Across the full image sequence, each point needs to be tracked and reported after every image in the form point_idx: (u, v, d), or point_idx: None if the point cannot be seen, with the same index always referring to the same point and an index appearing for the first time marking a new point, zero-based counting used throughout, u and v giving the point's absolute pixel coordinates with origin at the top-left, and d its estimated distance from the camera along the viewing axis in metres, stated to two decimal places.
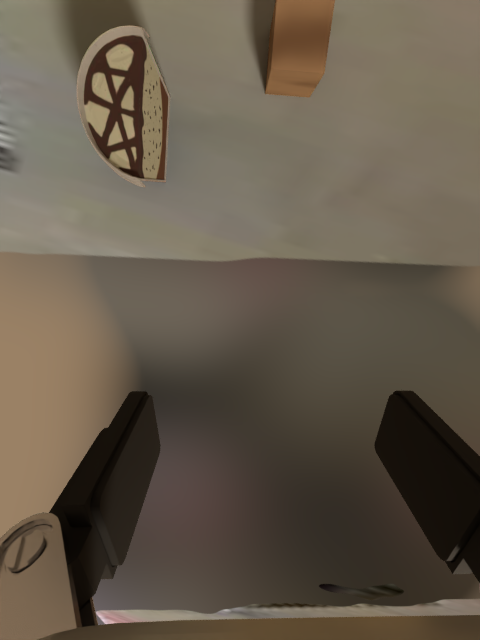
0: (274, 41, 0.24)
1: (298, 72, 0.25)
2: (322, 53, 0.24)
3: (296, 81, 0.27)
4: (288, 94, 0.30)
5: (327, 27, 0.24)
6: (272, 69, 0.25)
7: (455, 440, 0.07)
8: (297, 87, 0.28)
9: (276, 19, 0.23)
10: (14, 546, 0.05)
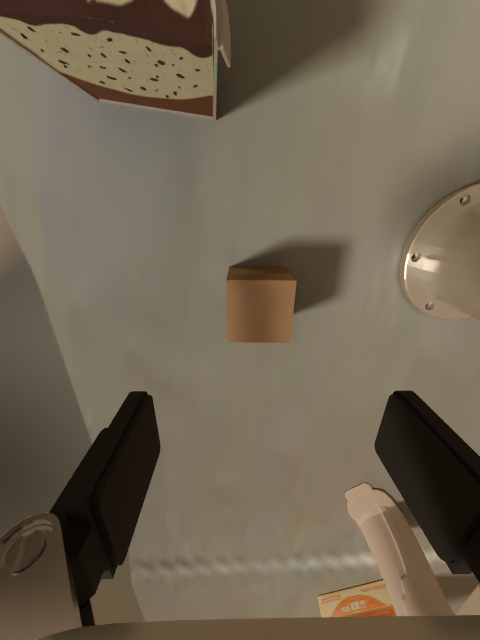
0: (252, 281, 0.19)
1: (227, 313, 0.20)
2: (244, 337, 0.21)
3: None
4: None
5: (266, 338, 0.21)
6: None
7: (455, 440, 0.07)
8: None
9: (272, 282, 0.19)
10: (14, 546, 0.05)
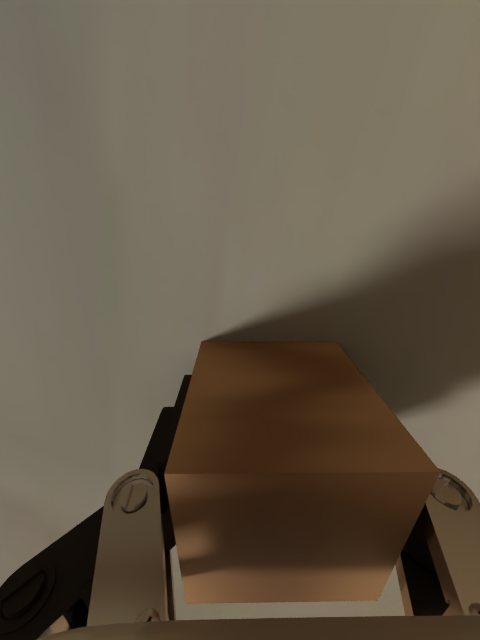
0: (268, 476, 0.05)
1: (179, 544, 0.06)
2: (238, 594, 0.07)
3: None
4: None
5: (305, 596, 0.07)
6: (166, 475, 0.05)
7: None
8: None
9: (345, 476, 0.05)
10: (124, 493, 0.06)
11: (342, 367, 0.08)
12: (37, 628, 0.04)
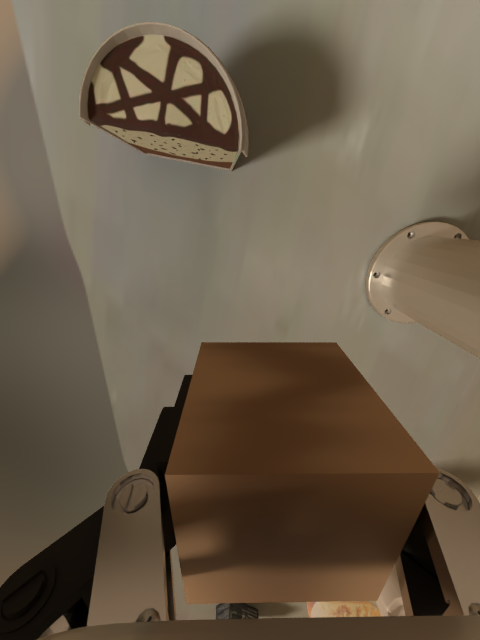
0: (268, 477, 0.05)
1: (179, 544, 0.06)
2: (239, 594, 0.07)
3: None
4: None
5: (305, 596, 0.07)
6: (166, 476, 0.05)
7: None
8: None
9: (345, 477, 0.05)
10: (124, 493, 0.06)
11: (342, 368, 0.08)
12: (37, 628, 0.04)
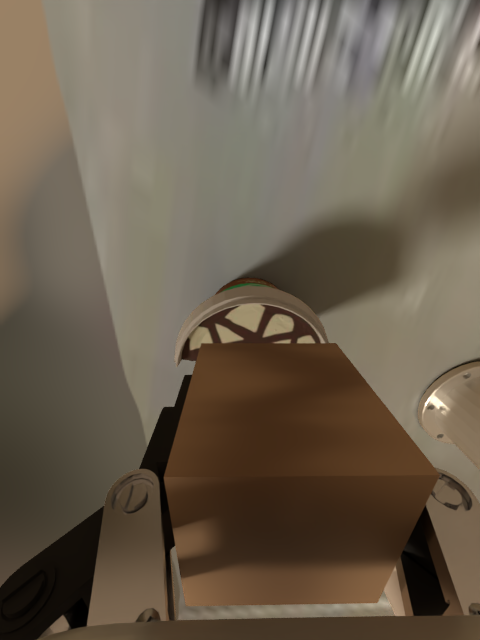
0: (268, 479, 0.05)
1: (179, 547, 0.06)
2: (238, 597, 0.07)
3: None
4: None
5: (305, 598, 0.07)
6: (165, 478, 0.05)
7: None
8: None
9: (345, 479, 0.05)
10: (124, 493, 0.06)
11: (342, 369, 0.08)
12: (37, 628, 0.04)
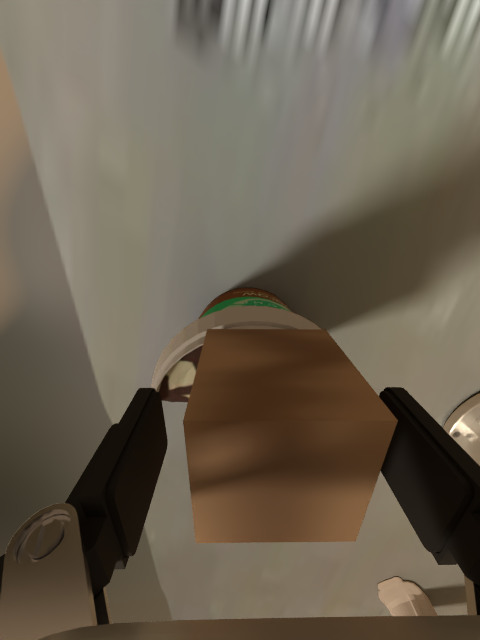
0: (264, 423, 0.06)
1: (191, 487, 0.07)
2: (240, 534, 0.08)
3: None
4: None
5: (295, 536, 0.08)
6: (184, 422, 0.06)
7: (441, 434, 0.07)
8: None
9: (324, 424, 0.06)
10: (33, 535, 0.05)
11: (329, 349, 0.10)
12: None
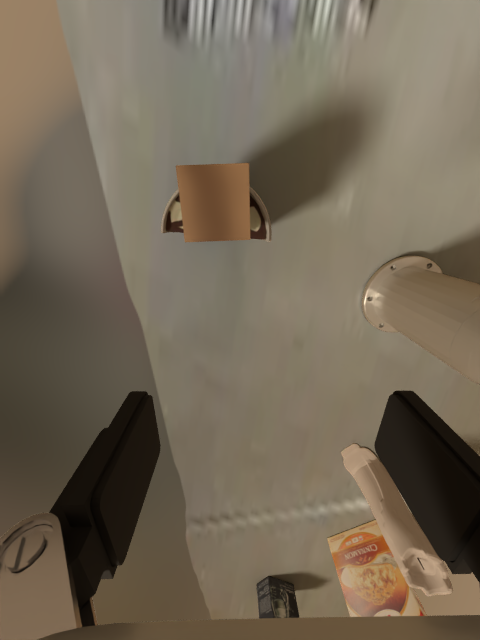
0: (203, 166, 0.18)
1: (181, 207, 0.19)
2: (202, 235, 0.20)
3: None
4: None
5: (225, 236, 0.20)
6: (176, 168, 0.18)
7: (455, 440, 0.07)
8: None
9: (224, 166, 0.18)
10: (14, 546, 0.05)
11: None
12: None
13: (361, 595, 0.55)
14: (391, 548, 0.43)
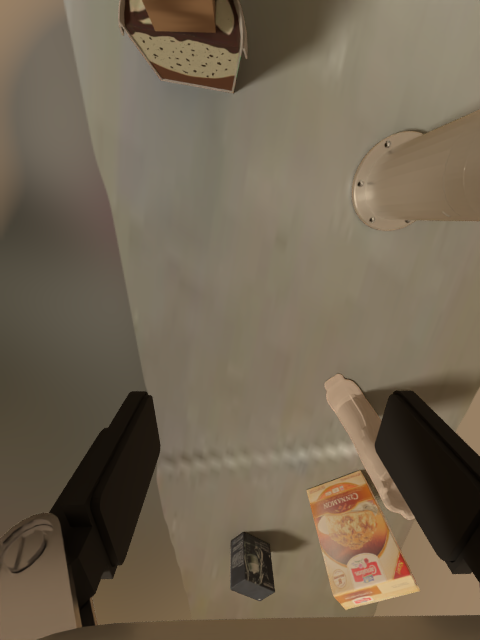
0: None
1: None
2: None
3: None
4: None
5: None
6: None
7: (455, 440, 0.07)
8: None
9: None
10: (14, 546, 0.05)
11: None
12: None
13: (338, 541, 0.51)
14: (370, 472, 0.40)
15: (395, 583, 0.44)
